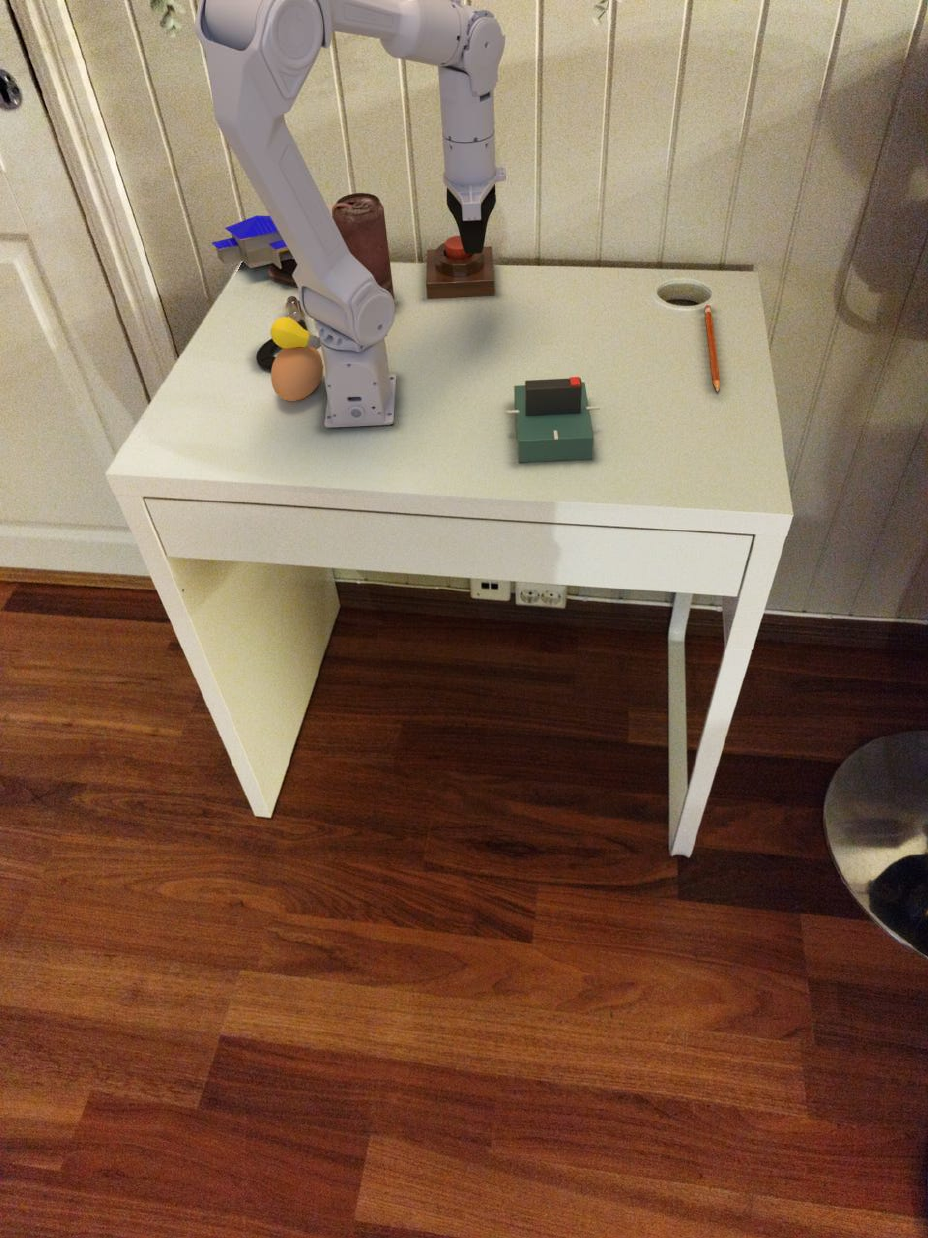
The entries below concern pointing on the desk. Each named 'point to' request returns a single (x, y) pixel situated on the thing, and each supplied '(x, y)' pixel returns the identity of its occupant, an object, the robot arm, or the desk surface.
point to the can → (365, 234)
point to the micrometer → (268, 348)
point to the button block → (459, 274)
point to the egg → (296, 372)
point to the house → (253, 243)
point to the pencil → (712, 347)
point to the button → (455, 249)
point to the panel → (553, 432)
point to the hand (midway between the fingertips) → (473, 250)
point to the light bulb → (292, 335)
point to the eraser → (284, 271)
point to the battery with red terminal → (553, 396)
